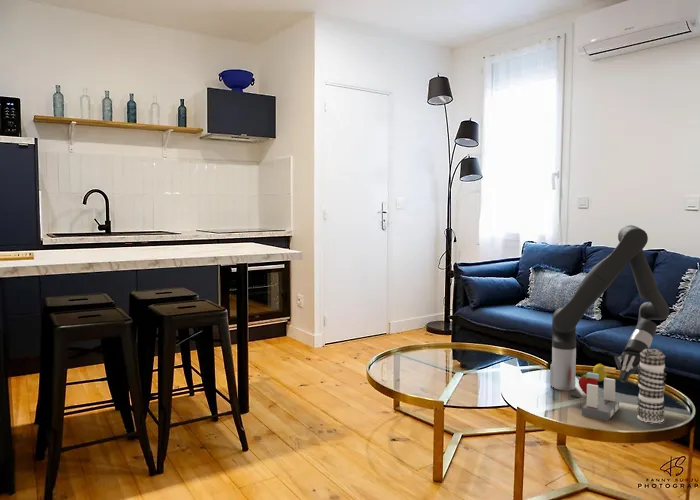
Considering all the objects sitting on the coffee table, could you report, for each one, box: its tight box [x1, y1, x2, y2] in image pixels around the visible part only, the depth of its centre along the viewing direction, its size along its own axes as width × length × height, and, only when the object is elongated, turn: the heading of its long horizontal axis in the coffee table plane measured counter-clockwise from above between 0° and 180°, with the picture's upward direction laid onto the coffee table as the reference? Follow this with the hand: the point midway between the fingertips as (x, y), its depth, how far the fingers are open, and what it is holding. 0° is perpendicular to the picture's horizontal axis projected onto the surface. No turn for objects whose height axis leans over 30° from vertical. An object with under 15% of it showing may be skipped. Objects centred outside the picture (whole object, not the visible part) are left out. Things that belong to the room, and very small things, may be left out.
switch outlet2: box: [603, 365, 617, 401], centre depth 212 cm, size 4×2×12 cm, turn 51°
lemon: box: [592, 363, 608, 383], centre depth 242 cm, size 6×6×8 cm
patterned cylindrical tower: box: [636, 348, 668, 424], centre depth 201 cm, size 9×9×25 cm
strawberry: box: [578, 373, 599, 396], centre depth 226 cm, size 6×8×10 cm
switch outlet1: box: [586, 371, 599, 408], centre depth 205 cm, size 4×2×12 cm, turn 51°
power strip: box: [581, 396, 620, 422], centre depth 211 cm, size 9×19×3 cm, turn 141°
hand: (622, 381), depth 215 cm, fingers closed
